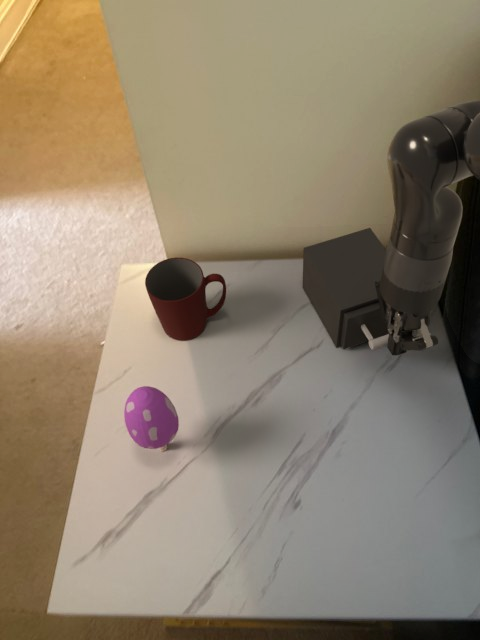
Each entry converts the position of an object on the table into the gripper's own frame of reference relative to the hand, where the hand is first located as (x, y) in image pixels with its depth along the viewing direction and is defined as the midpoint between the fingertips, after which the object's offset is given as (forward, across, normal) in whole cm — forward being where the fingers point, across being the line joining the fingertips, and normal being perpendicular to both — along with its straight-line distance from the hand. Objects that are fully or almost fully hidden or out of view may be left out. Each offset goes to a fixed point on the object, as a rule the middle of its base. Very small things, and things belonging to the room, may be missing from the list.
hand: (395, 350), depth 81 cm
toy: (+6, 0, +36) cm, 36 cm away
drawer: (+4, +10, 0) cm, 11 cm away
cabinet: (+5, +14, 0) cm, 14 cm away
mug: (+5, +20, +25) cm, 33 cm away
